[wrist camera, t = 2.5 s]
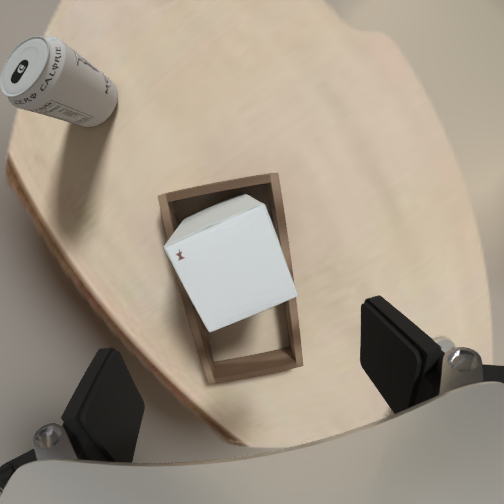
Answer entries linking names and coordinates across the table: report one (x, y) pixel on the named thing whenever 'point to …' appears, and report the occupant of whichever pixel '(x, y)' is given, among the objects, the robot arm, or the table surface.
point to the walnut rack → (292, 354)
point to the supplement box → (230, 261)
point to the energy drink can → (57, 82)
